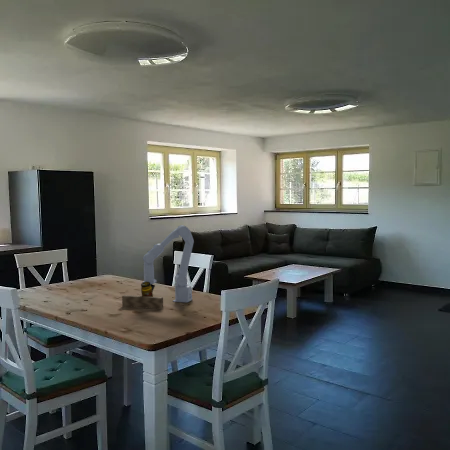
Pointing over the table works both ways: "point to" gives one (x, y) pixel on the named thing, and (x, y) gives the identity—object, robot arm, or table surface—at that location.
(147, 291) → the condiment
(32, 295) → the table surface
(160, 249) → the robot arm
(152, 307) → the board
